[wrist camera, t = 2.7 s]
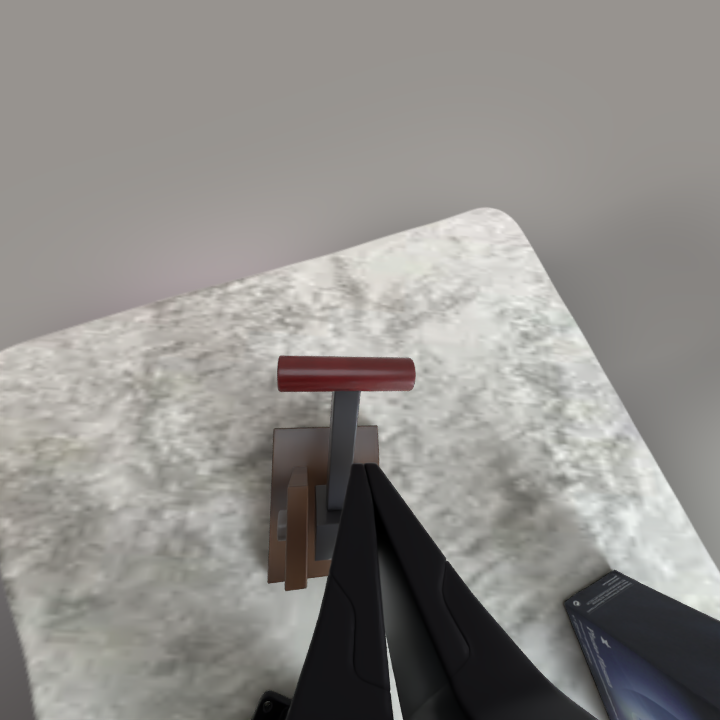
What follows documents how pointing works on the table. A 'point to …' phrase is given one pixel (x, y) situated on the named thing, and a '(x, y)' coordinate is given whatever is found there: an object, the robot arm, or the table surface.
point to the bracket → (303, 498)
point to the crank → (340, 420)
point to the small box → (647, 651)
